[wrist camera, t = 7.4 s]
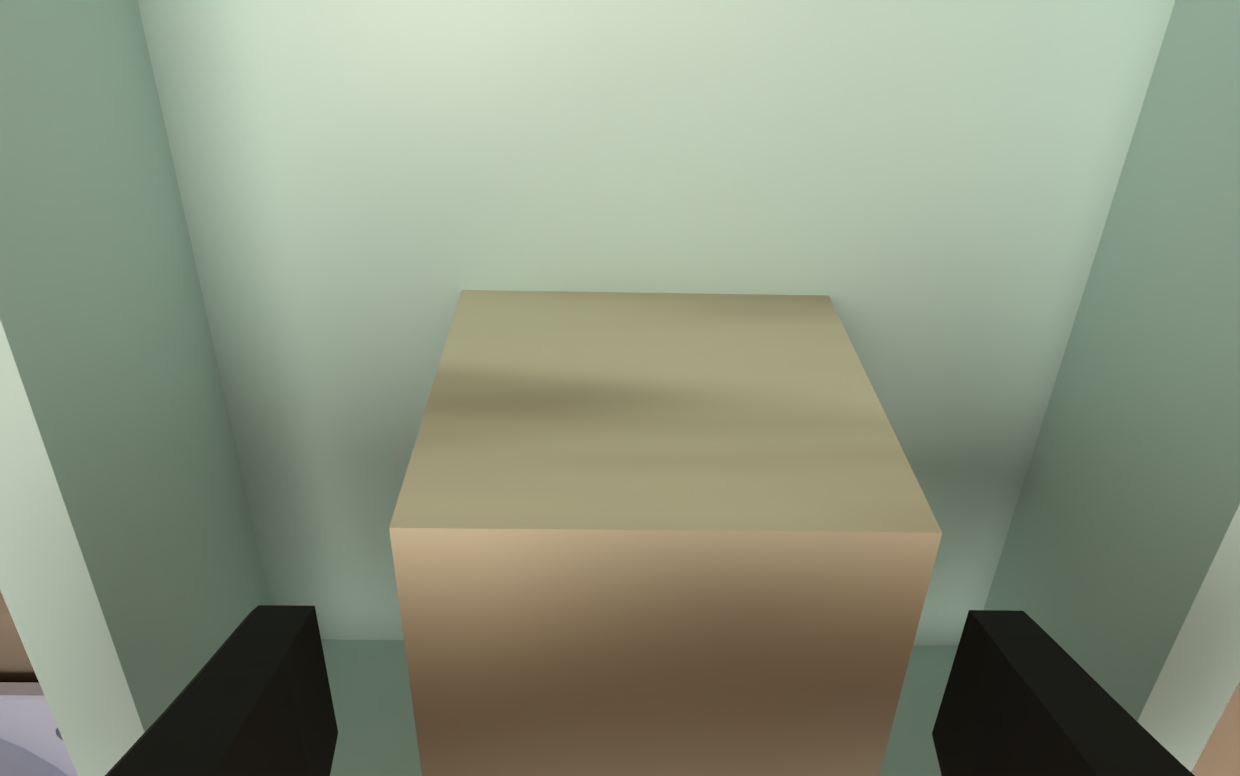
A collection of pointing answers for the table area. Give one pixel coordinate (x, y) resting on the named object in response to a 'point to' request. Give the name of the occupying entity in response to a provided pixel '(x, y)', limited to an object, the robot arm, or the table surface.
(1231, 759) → the table surface
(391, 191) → the tote
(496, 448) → the maple block
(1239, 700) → the table surface
